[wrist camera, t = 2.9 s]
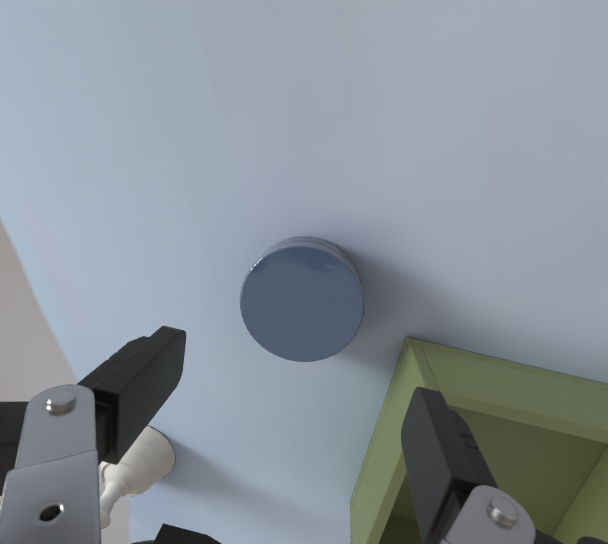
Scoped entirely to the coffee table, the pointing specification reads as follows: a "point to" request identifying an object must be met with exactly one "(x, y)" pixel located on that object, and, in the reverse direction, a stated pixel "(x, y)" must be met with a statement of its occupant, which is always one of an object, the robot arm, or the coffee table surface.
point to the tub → (494, 443)
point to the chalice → (135, 470)
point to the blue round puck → (303, 300)
